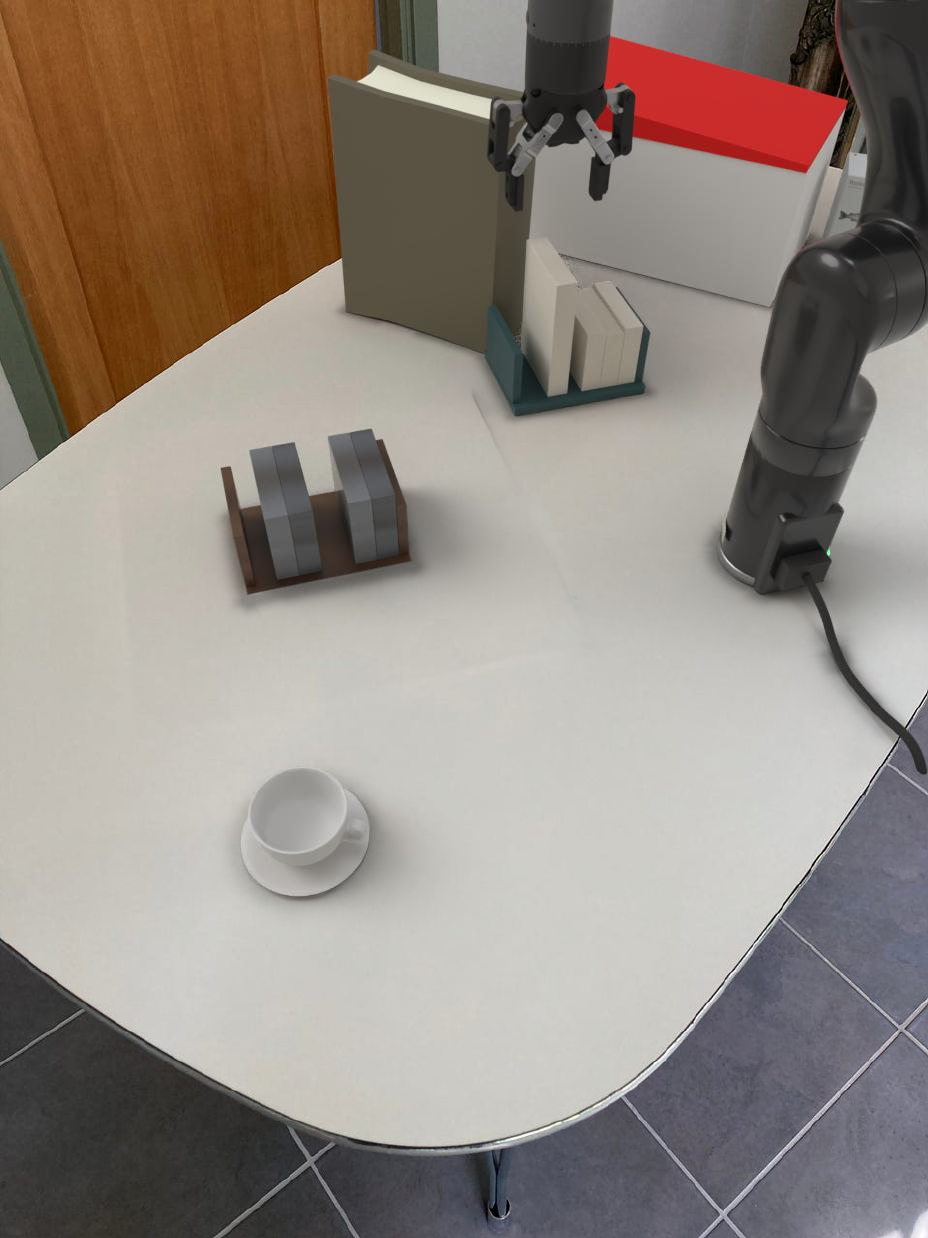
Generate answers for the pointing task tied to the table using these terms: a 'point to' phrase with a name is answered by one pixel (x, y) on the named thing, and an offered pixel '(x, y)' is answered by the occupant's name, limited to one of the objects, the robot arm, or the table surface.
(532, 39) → the robot arm
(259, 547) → the brown book rack
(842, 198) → the white packaging box
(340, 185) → the book
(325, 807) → the teacup
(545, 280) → the white book
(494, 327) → the teal book rack
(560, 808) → the table surface
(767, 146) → the red-lidded white box
